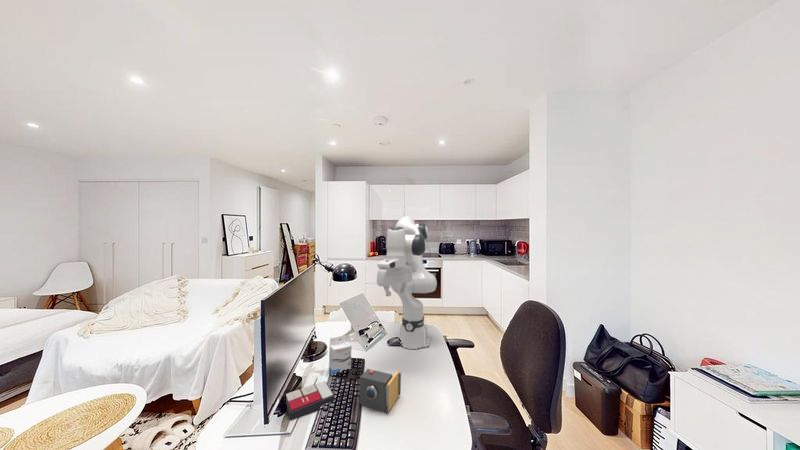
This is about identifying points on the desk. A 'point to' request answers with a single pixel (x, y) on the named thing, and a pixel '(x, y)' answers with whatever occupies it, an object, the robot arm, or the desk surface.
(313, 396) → the calculator
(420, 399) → the desk surface
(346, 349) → the ink box
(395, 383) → the side door
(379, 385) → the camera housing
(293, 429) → the desk surface
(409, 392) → the desk surface
